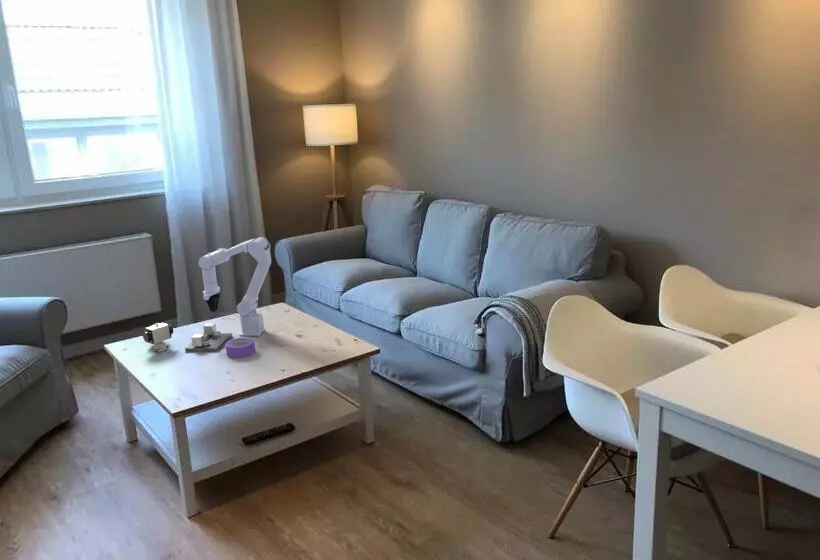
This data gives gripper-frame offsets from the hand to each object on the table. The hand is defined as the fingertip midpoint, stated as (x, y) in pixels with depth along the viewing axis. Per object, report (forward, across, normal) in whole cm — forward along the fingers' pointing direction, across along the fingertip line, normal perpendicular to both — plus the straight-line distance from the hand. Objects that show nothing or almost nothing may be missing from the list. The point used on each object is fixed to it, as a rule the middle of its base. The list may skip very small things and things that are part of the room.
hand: (214, 310), depth 310 cm
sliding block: (+9, +7, +1) cm, 11 cm away
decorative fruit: (+11, +14, -21) cm, 27 cm away
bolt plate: (+10, +14, +2) cm, 18 cm away
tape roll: (+11, +25, +20) cm, 34 cm away
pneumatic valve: (+11, +21, -17) cm, 29 cm away
